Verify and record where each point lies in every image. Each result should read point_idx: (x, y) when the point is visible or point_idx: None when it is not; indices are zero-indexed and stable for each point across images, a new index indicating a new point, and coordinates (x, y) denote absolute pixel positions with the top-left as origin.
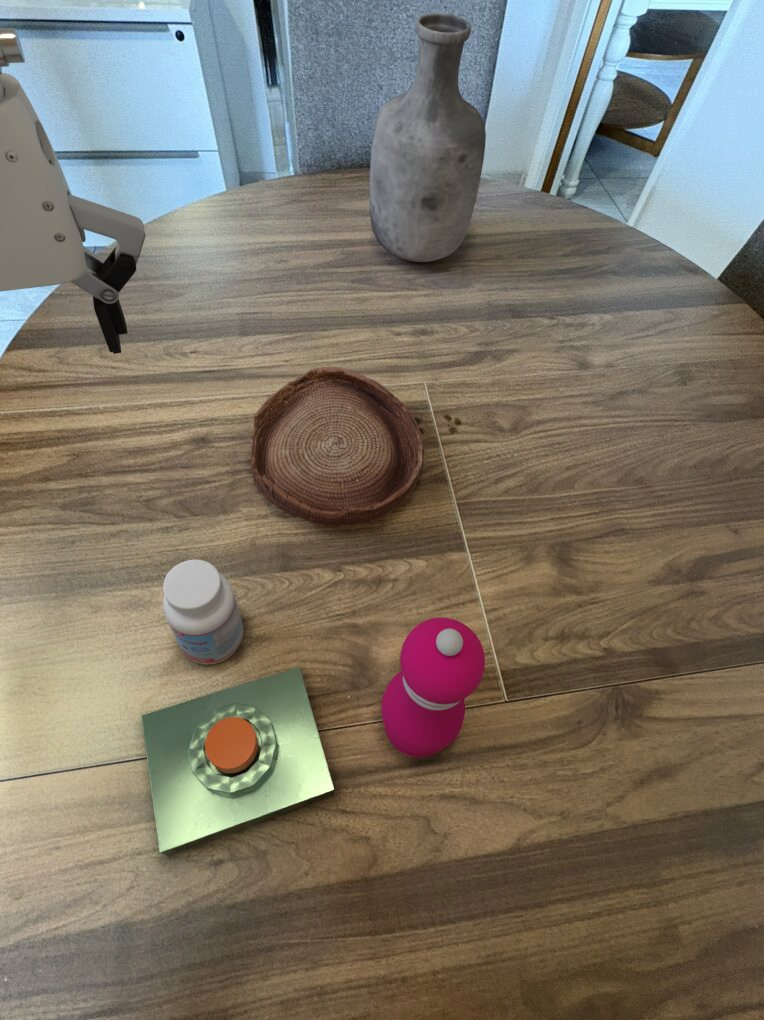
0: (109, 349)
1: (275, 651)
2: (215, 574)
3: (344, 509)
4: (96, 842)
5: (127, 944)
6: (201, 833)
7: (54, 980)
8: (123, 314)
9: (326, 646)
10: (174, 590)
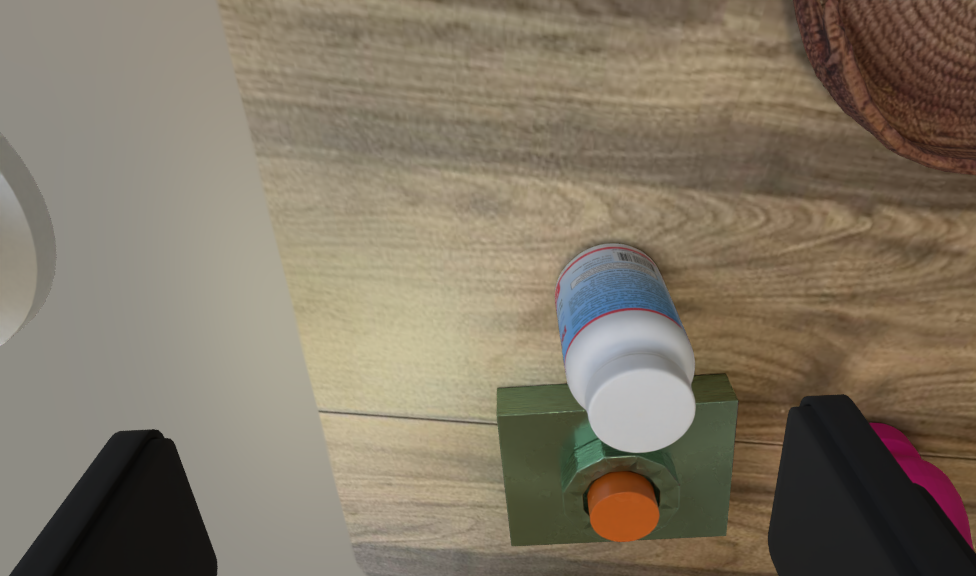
0: (777, 567)
1: (700, 330)
2: (689, 406)
3: (973, 161)
4: (432, 488)
5: (467, 564)
6: (560, 540)
7: (398, 572)
8: (936, 503)
9: (782, 339)
10: (608, 421)
